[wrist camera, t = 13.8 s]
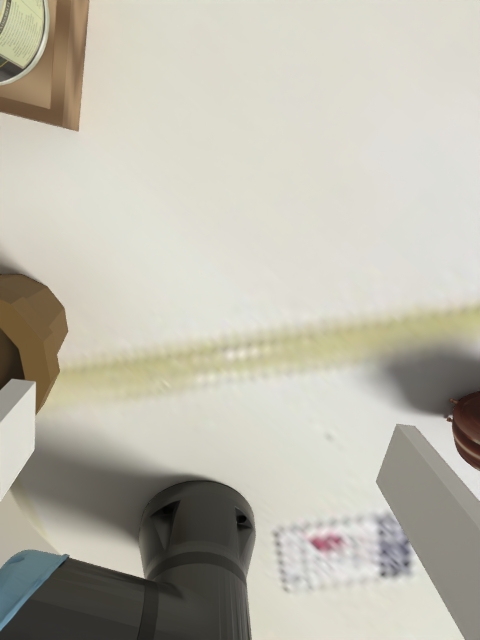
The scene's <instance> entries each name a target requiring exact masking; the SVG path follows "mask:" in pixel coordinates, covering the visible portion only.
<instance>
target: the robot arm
mask: <svg viewBox="0 0 480 640" xmlns="http://www.w3.org/2000/svg"><path fill="white" fill-rule="evenodd" d="M35 402H36V382H35V381H26V380H18V379H11V380H10V381H9V382H8V383H7V384H6V385H5V386H4V387H3V388H2V389H1V390H0V502H1V500H2V499H3V497H4V496H5V494H6V493H7V491H8V490H9V488H10V487H11V485H12V483H13V482H14V480H15V479H16V477H17V476H18V474H19V473H20V471H21V470H22V468H23V467H24V465H25V463H26V462H27V460H28V459H29V457H30V456H31V454H32V453H33V451H34V450H35ZM376 483H377V485H378V487H379V488H380V490H381V492H382V494H383V496H384V497H385V499H386V501H387V503H388V504H389V506H390V508H391V510H392V511H393V513H394V515H395V517H396V519H397V520H398V522H399V524H400V526H401V527H402V529H403V531H404V533H405V534H406V536H407V538H408V540H409V542H410V543H411V545H412V547H413V549H414V550H415V552H416V554H417V556H418V557H419V559H420V561H421V563H422V565H423V566H424V568H425V570H426V572H427V573H428V575H429V577H430V579H431V580H432V582H433V584H434V586H435V588H436V589H437V591H438V593H439V595H440V596H441V598H442V600H443V602H444V603H445V605H446V607H447V609H448V611H449V612H450V614H451V616H452V618H453V619H454V621H455V623H456V625H457V626H458V628H459V630H460V632H461V634H462V635H463V637H464V639H465V640H480V501H479V500H478V499H477V498H476V497H475V495H474V494H473V493H472V492H471V491H470V490H469V488H468V487H467V486H466V485H465V484H464V483H463V481H462V480H461V479H460V478H459V477H458V476H457V474H456V473H455V472H454V471H453V470H452V469H451V467H450V466H449V465H448V464H447V463H446V462H445V460H444V459H443V458H442V457H441V456H440V455H439V453H438V452H437V451H436V450H435V449H434V448H433V446H432V445H431V444H430V443H429V442H428V441H427V439H426V438H425V437H424V436H423V435H422V434H421V432H420V431H419V430H418V429H417V428H416V427H415V426H410V425H401V424H396V427H395V430H394V433H393V435H392V438H391V441H390V444H389V446H388V449H387V452H386V455H385V458H384V460H383V463H382V466H381V469H380V471H379V474H378V477H377V480H376ZM255 536H256V531H255V522H254V515H253V512H252V509H251V507H250V505H249V503H248V502H247V501H246V500H245V498H244V497H243V496H242V495H240V494H239V493H238V492H236V491H235V490H233V489H231V488H229V487H227V486H225V485H222V484H219V483H214V482H208V481H192V482H185V483H181V484H177V485H174V486H172V487H170V488H167V489H166V490H164V491H162V492H161V493H159V494H158V495H157V496H155V497H154V498H153V499H152V500H151V501H150V503H149V504H148V505H147V507H146V509H145V510H144V513H143V515H142V519H141V524H140V529H139V548H140V553H141V559H142V565H143V571H144V577H145V579H143V578H140V577H136V576H133V575H129V574H126V573H122V572H118V571H115V570H111V569H108V568H104V567H101V566H97V565H93V564H90V563H86V562H83V561H79V560H76V559H72V558H69V556H70V555H67V554H64V555H62V556H61V555H56V554H51V553H47V552H42V551H38V550H24V551H21V552H19V553H17V554H15V555H14V556H12V557H11V558H10V559H9V560H8V561H7V562H6V563H5V564H4V565H3V566H2V567H1V569H0V640H252V637H251V627H250V616H249V605H248V595H247V583H246V578H247V573H248V569H249V565H250V561H251V556H252V552H253V548H254V544H255Z"/></svg>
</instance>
